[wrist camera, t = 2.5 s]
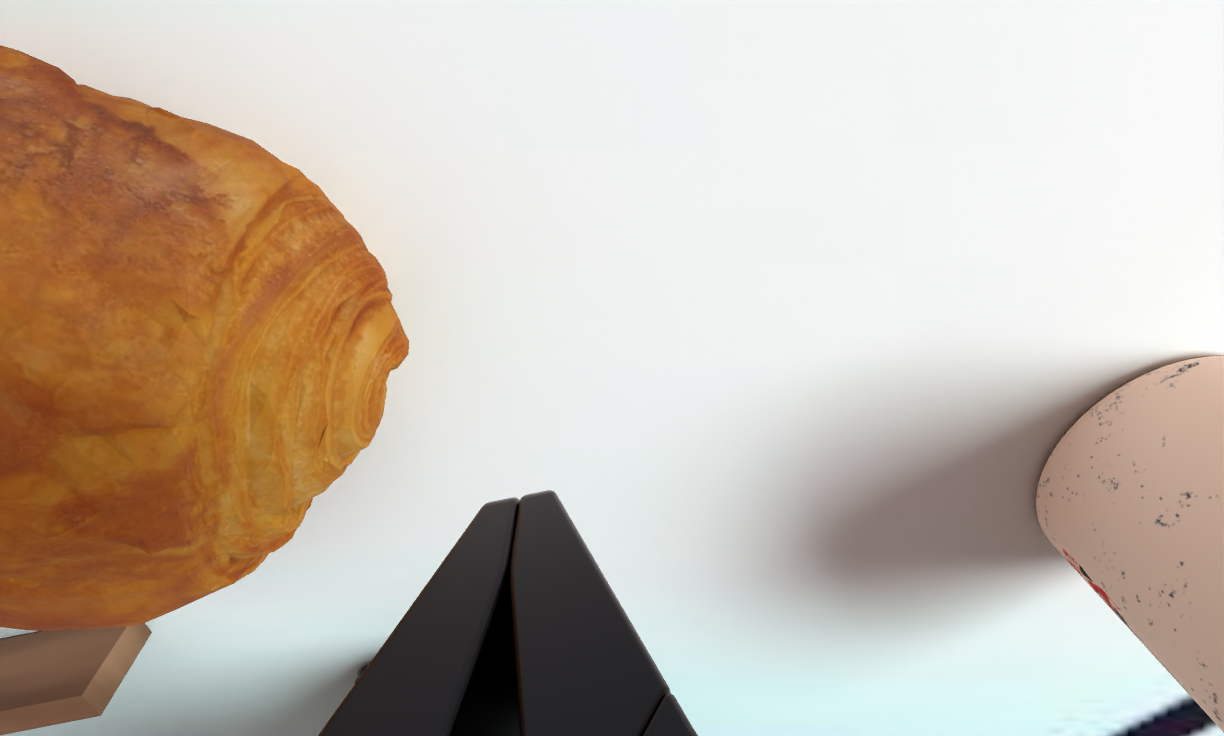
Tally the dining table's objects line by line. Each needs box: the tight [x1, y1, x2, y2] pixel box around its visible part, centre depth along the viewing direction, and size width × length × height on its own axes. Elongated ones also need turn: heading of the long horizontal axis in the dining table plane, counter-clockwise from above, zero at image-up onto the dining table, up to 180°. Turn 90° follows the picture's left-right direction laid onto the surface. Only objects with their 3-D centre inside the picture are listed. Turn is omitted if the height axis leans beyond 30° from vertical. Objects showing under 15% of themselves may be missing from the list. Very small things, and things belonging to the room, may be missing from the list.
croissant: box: [0, 46, 409, 631], centre depth 15 cm, size 14×16×8 cm
